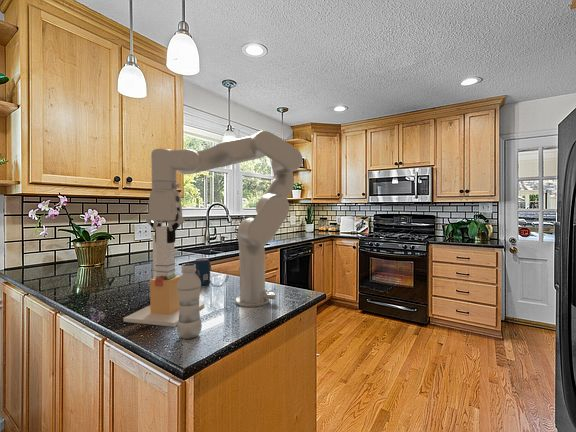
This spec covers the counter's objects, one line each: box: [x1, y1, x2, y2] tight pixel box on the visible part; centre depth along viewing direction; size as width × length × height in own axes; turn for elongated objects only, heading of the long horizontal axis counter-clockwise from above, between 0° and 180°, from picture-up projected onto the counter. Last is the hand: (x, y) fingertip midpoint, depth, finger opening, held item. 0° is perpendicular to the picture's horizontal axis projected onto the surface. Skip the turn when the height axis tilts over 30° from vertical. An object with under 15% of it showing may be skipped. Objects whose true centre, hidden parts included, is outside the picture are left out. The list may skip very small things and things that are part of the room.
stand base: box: [122, 275, 205, 328], centre depth 100 cm, size 18×18×13 cm
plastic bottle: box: [176, 263, 203, 340], centre depth 83 cm, size 6×7×20 cm
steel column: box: [156, 225, 177, 280], centre depth 100 cm, size 4×4×22 cm
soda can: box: [193, 257, 211, 288], centre depth 136 cm, size 7×7×12 cm
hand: (165, 241), depth 100 cm, fingers closed on steel column, 4 cm apart
